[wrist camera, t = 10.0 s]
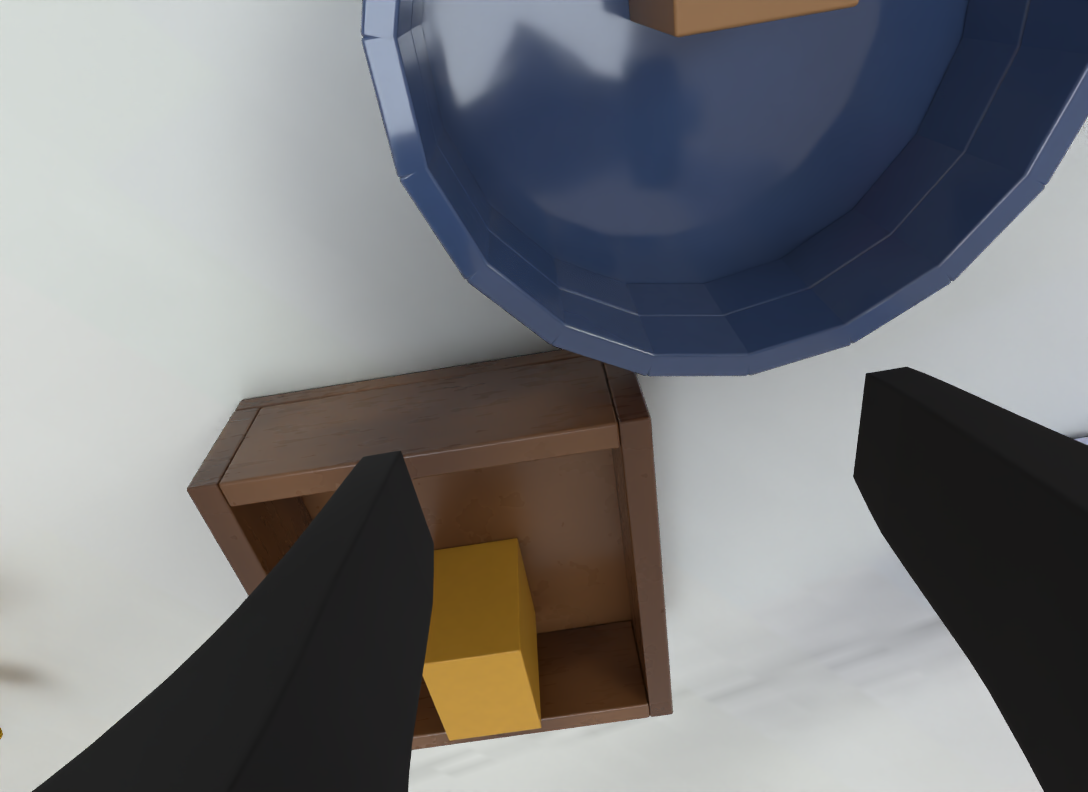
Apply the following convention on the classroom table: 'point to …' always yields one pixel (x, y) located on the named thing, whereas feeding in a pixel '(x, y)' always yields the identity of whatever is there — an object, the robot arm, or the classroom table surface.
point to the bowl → (722, 163)
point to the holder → (482, 506)
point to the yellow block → (483, 642)
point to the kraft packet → (722, 13)
